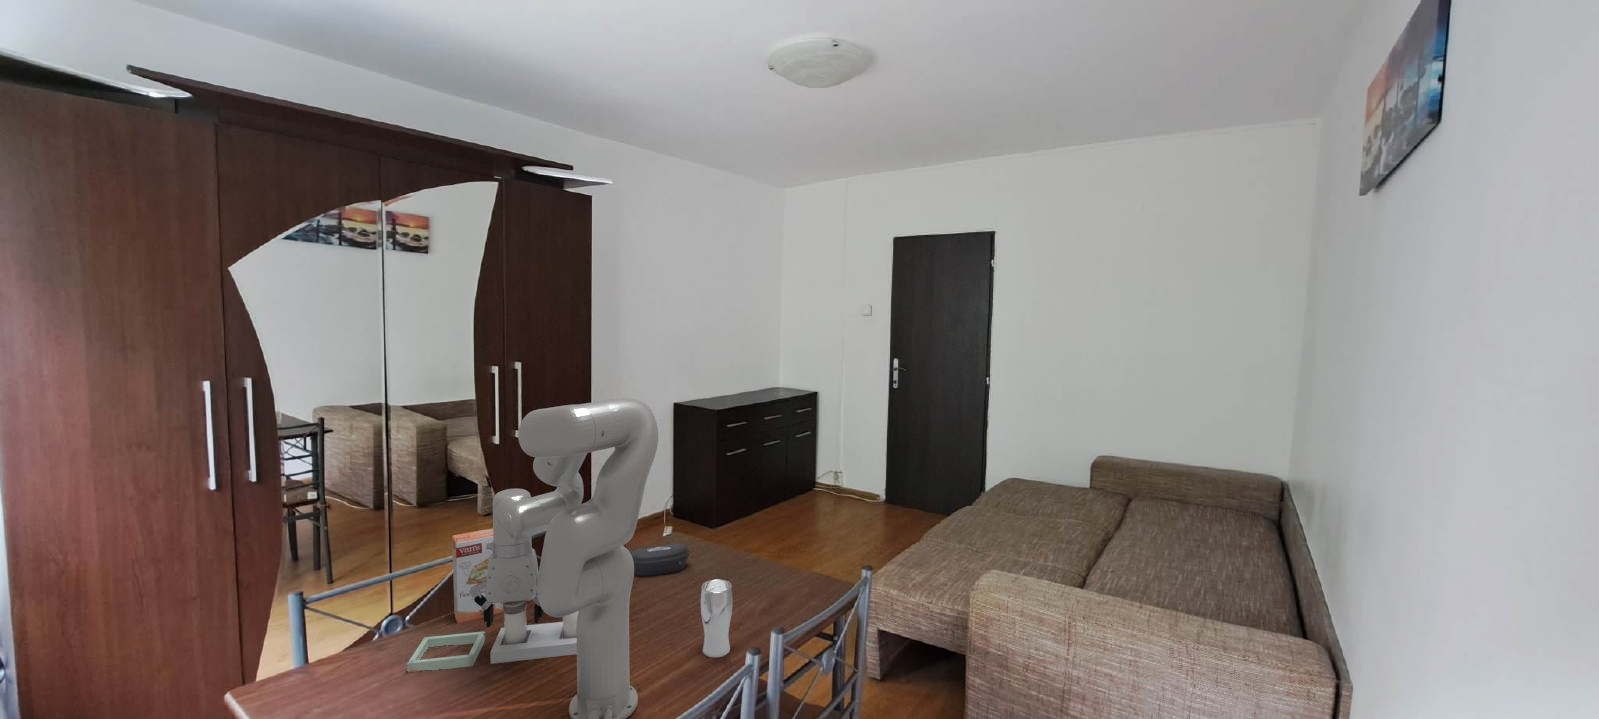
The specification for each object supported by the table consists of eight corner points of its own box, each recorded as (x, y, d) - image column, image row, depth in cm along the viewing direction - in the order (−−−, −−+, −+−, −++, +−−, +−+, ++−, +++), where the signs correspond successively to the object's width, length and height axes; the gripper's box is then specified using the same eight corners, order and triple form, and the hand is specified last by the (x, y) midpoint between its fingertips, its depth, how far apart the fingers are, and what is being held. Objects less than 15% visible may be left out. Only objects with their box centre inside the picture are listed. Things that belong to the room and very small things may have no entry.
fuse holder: (590, 656, 136) (590, 641, 136) (490, 668, 131) (490, 652, 131) (594, 632, 146) (594, 618, 145) (501, 642, 141) (501, 627, 141)
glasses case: (629, 580, 171) (627, 551, 173) (625, 579, 180) (623, 551, 182) (694, 569, 178) (692, 541, 180) (687, 568, 187) (684, 542, 189)
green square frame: (473, 670, 130) (472, 656, 130) (407, 677, 127) (407, 663, 127) (485, 643, 140) (485, 631, 140) (425, 650, 137) (424, 637, 137)
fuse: (583, 646, 138) (582, 598, 137) (561, 648, 137) (560, 601, 136) (585, 635, 142) (584, 589, 141) (564, 637, 141) (563, 591, 140)
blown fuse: (525, 652, 135) (524, 604, 134) (502, 655, 134) (501, 606, 133) (529, 641, 140) (527, 594, 139) (507, 643, 139) (505, 596, 137)
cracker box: (457, 628, 146) (454, 542, 144) (454, 617, 151) (451, 534, 149) (521, 611, 155) (519, 530, 153) (516, 602, 160) (514, 522, 158)
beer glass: (702, 661, 135) (702, 594, 134) (699, 643, 142) (699, 580, 140) (734, 656, 137) (734, 591, 135) (729, 639, 144) (729, 577, 142)
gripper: (463, 556, 129) (465, 635, 131) (552, 551, 133) (553, 627, 135) (473, 542, 136) (475, 616, 138) (557, 537, 140) (558, 610, 142)
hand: (514, 622), depth 137 cm, fingers open, 9 cm apart
